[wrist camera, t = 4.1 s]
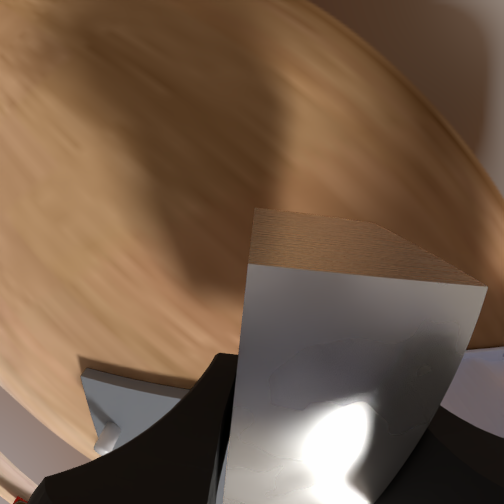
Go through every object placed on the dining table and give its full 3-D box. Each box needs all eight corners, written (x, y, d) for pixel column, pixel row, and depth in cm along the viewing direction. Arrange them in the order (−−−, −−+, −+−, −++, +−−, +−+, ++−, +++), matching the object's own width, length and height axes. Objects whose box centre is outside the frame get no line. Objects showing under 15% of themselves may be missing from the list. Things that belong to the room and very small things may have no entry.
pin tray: (233, 395, 18) (229, 435, 14) (222, 505, 22) (219, 533, 19) (86, 367, 18) (63, 398, 14) (122, 486, 22) (113, 511, 18)
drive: (374, 222, 10) (487, 286, 4) (316, 437, 12) (334, 545, 7) (254, 207, 10) (248, 262, 4) (230, 433, 12) (218, 545, 7)
